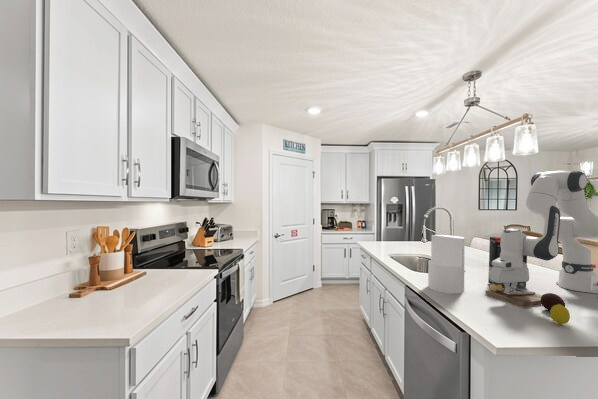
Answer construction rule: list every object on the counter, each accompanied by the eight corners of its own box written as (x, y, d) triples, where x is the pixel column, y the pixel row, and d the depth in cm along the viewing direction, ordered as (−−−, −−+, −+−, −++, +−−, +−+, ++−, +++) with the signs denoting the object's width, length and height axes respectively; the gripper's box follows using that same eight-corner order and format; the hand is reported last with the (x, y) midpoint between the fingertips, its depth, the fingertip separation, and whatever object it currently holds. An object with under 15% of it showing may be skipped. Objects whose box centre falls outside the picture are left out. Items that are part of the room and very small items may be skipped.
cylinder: (440, 282, 166) (440, 234, 166) (470, 290, 151) (471, 237, 152) (421, 286, 157) (421, 235, 157) (452, 295, 142) (452, 239, 143)
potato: (547, 314, 120) (547, 296, 120) (535, 306, 128) (535, 289, 129) (570, 316, 117) (570, 298, 117) (557, 308, 126) (557, 291, 126)
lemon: (546, 322, 112) (546, 301, 112) (559, 321, 112) (559, 301, 112) (560, 328, 106) (560, 306, 106) (574, 327, 107) (574, 306, 107)
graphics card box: (519, 284, 163) (519, 236, 163) (528, 288, 156) (528, 238, 156) (487, 283, 165) (488, 236, 165) (494, 287, 158) (495, 237, 158)
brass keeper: (496, 289, 146) (496, 282, 146) (507, 292, 140) (507, 286, 140) (490, 289, 145) (490, 283, 145) (501, 293, 139) (501, 286, 139)
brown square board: (514, 291, 151) (514, 287, 151) (553, 303, 133) (553, 298, 133) (485, 294, 145) (485, 290, 145) (522, 307, 128) (522, 302, 128)
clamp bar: (528, 292, 142) (528, 290, 142) (535, 294, 140) (535, 292, 140) (503, 292, 138) (504, 290, 138) (510, 294, 135) (510, 292, 135)
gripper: (520, 260, 143) (519, 288, 143) (488, 261, 137) (488, 290, 137) (533, 263, 137) (532, 292, 137) (501, 264, 131) (500, 294, 131)
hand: (510, 291), depth 137 cm, fingers closed
